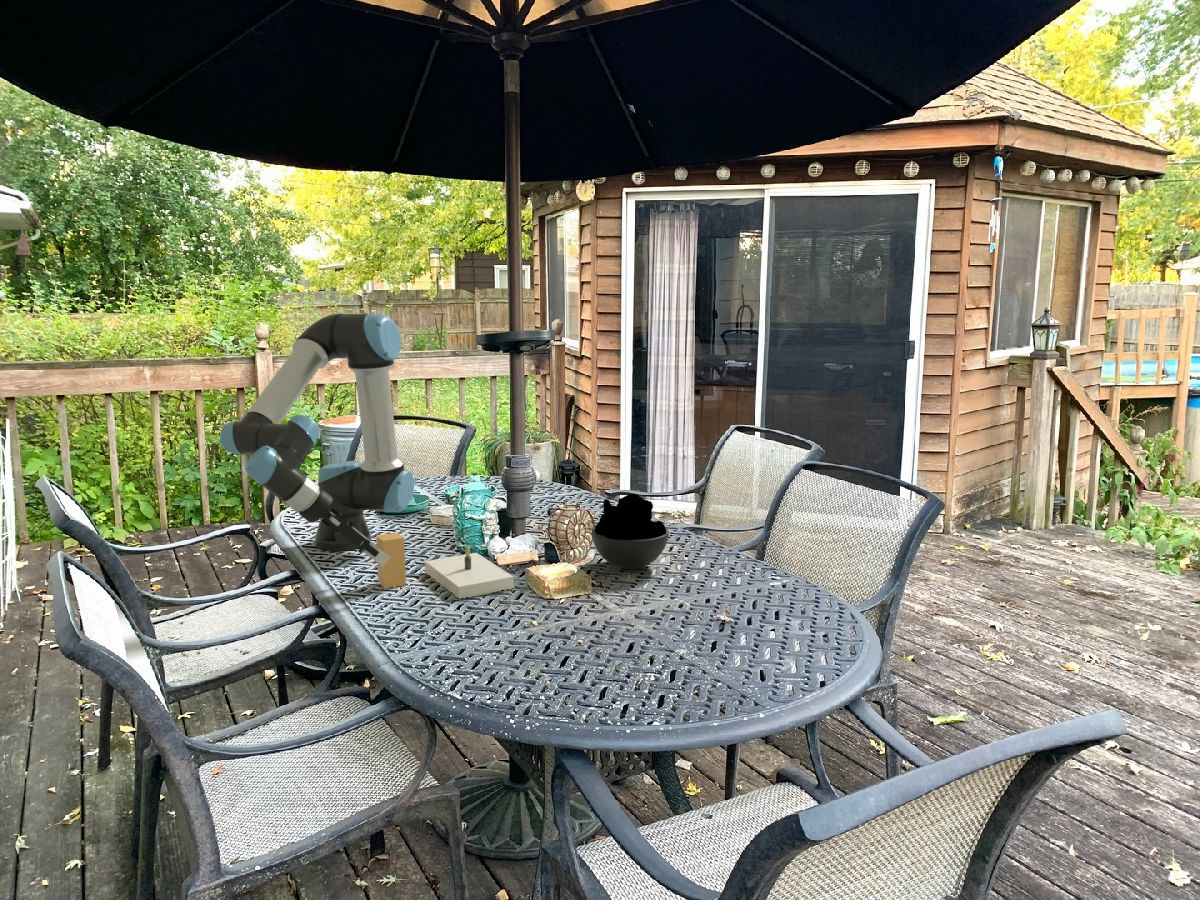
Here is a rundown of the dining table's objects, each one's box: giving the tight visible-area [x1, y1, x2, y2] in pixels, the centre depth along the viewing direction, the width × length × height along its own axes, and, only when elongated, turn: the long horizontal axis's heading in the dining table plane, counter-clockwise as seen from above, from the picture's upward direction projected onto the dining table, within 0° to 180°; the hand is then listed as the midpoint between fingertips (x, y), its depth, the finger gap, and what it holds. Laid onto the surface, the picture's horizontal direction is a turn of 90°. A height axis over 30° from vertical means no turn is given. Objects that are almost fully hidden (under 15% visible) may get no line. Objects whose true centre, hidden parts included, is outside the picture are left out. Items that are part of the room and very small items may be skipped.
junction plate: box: [424, 546, 515, 600], centre depth 203 cm, size 22×14×8 cm, turn 32°
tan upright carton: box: [375, 532, 407, 589], centre depth 200 cm, size 5×5×12 cm
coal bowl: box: [591, 493, 670, 570], centre depth 213 cm, size 20×20×19 cm
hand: (377, 554), depth 197 cm, fingers open, 13 cm apart
